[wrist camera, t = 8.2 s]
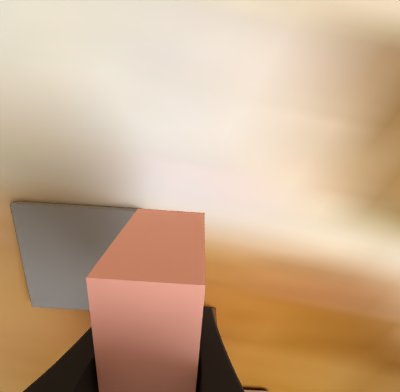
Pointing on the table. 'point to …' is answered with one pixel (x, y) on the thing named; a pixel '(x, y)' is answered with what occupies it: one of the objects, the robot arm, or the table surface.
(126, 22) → the table surface
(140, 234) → the pink eraser brick
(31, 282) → the pad
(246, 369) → the table surface
